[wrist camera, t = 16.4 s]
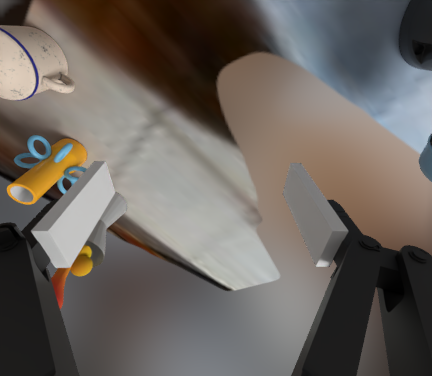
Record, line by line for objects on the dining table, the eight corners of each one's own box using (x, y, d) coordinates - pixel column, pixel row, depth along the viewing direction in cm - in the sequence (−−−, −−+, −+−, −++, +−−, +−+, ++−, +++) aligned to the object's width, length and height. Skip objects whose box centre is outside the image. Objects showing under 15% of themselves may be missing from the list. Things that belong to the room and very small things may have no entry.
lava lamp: (85, 208, 54) (-53, 400, 26) (95, 182, 50) (-58, 379, 22) (121, 221, 57) (32, 407, 29) (133, 198, 53) (43, 390, 24)
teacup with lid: (7, 70, 37) (-63, 82, 27) (10, 10, 32) (-74, 0, 23) (82, 106, 40) (43, 129, 31) (93, 57, 36) (51, 66, 26)
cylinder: (30, 128, 43) (-43, 166, 30) (78, 117, 42) (23, 152, 29) (67, 179, 50) (20, 227, 37) (109, 171, 48) (75, 217, 36)
